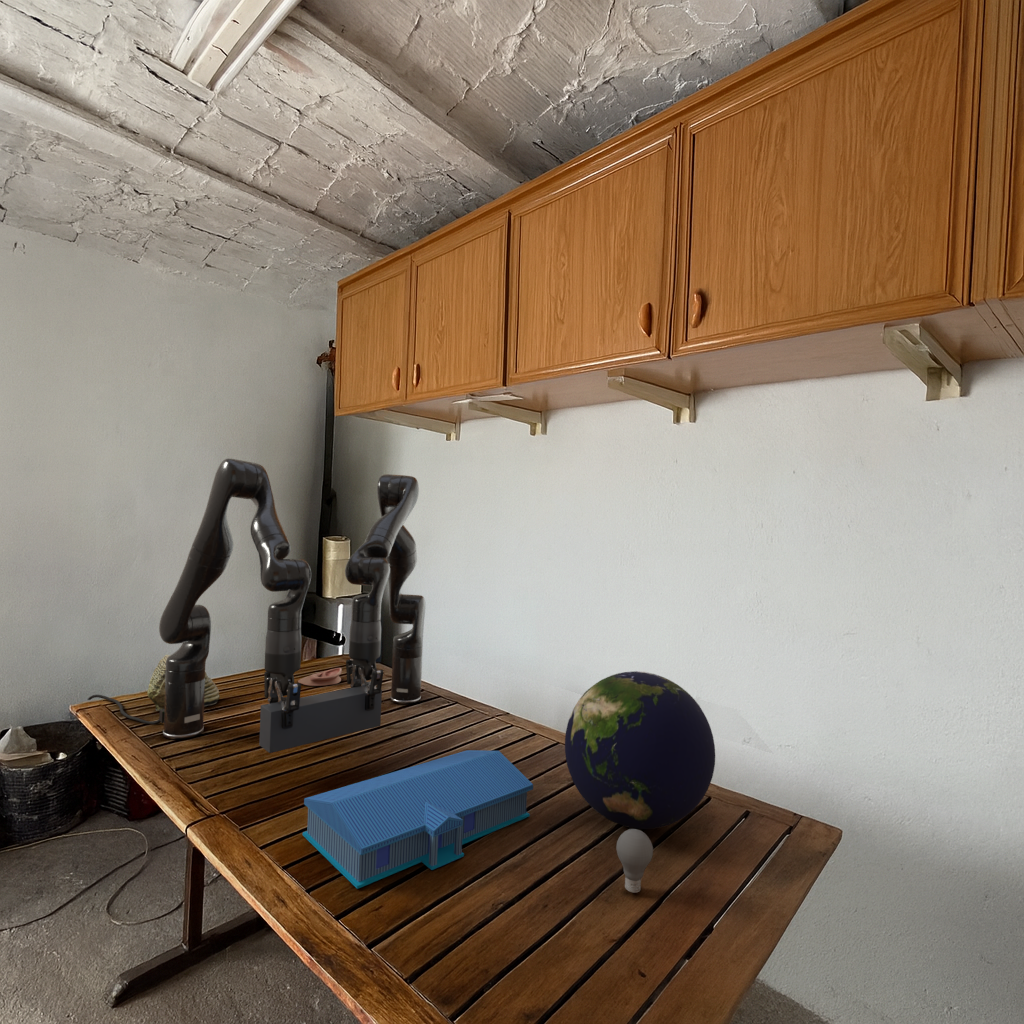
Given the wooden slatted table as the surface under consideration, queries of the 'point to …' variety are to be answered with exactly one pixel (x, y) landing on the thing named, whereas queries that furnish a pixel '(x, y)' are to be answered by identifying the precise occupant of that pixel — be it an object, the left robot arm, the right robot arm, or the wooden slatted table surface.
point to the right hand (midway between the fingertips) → (362, 706)
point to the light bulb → (634, 857)
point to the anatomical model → (322, 678)
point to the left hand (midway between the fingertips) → (280, 723)
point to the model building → (416, 814)
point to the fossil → (158, 687)
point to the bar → (318, 719)
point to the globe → (640, 750)
